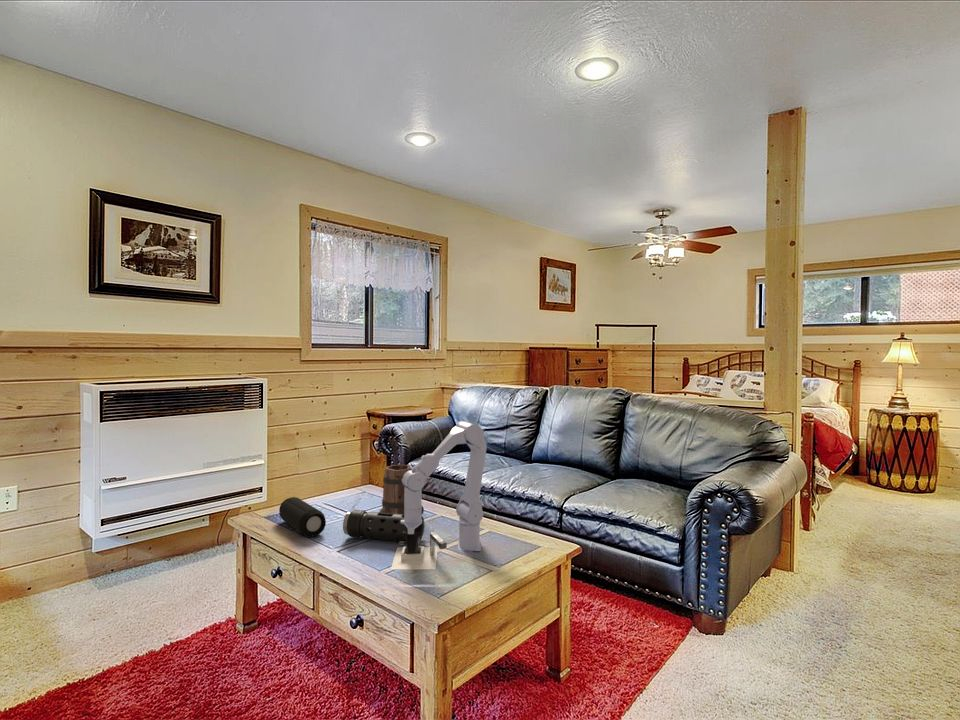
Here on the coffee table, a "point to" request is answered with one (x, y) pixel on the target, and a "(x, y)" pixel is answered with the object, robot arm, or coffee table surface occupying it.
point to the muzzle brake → (376, 525)
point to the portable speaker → (302, 516)
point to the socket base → (414, 559)
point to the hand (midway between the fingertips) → (412, 548)
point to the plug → (416, 547)
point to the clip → (436, 539)
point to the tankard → (394, 489)
